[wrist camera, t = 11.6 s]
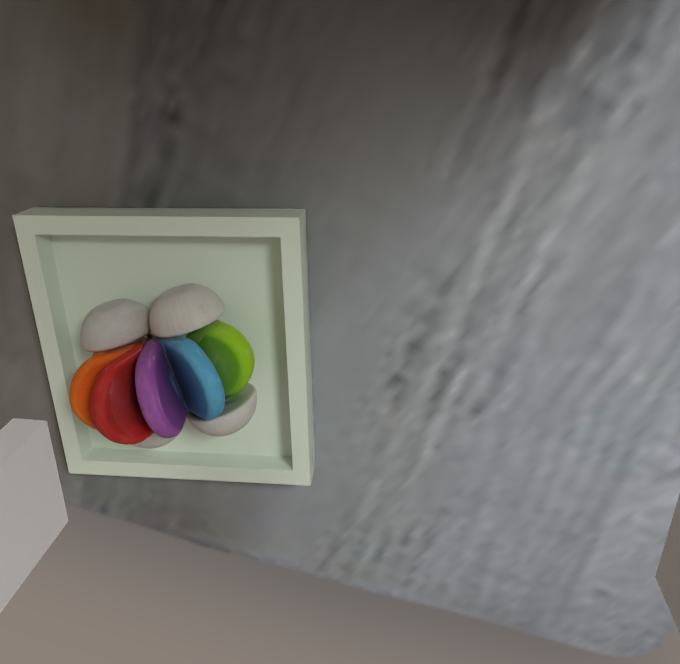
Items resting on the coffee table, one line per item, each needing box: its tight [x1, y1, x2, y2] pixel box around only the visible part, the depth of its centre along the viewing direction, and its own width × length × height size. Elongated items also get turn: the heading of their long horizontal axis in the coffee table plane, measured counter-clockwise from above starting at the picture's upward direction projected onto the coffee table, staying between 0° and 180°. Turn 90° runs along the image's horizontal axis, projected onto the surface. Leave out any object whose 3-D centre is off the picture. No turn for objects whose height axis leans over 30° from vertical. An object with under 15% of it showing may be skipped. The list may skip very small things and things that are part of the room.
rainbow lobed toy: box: [69, 283, 257, 449], centre depth 33 cm, size 8×10×7 cm
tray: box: [12, 207, 315, 485], centre depth 36 cm, size 16×15×2 cm
